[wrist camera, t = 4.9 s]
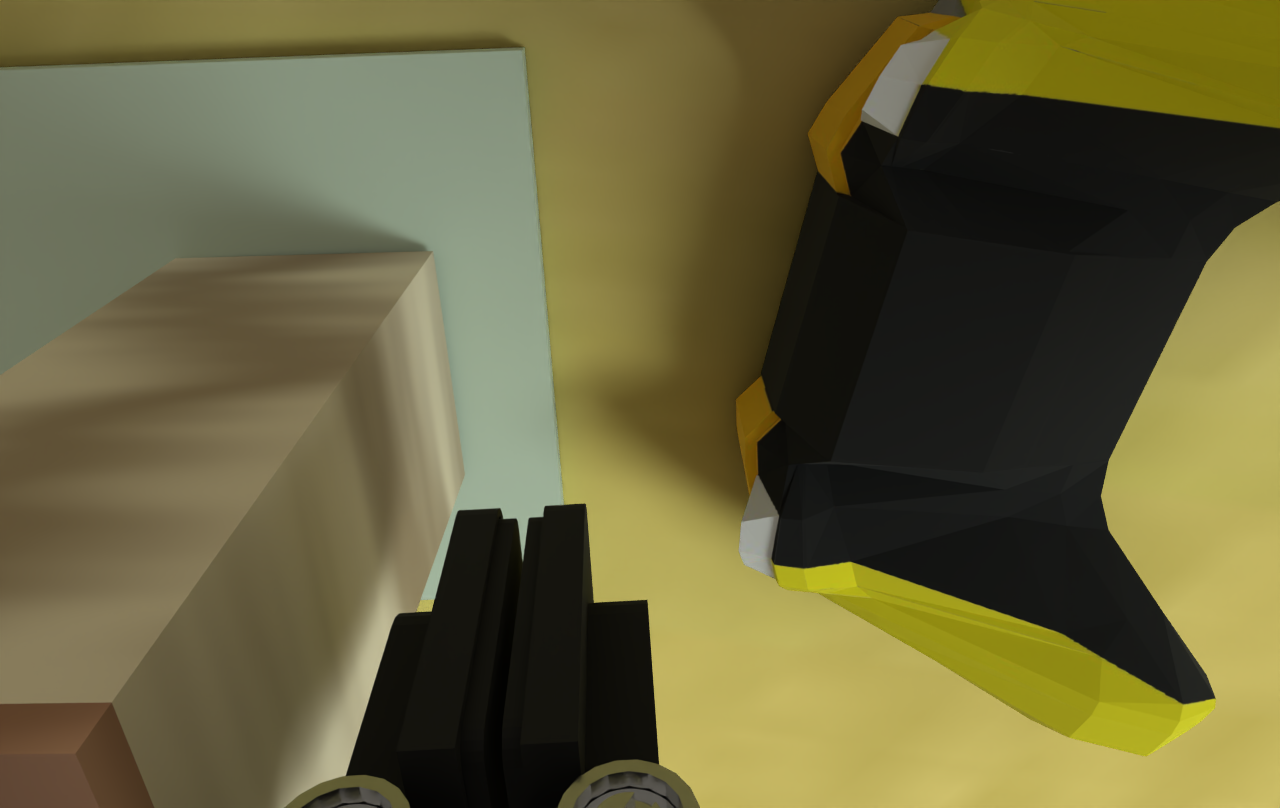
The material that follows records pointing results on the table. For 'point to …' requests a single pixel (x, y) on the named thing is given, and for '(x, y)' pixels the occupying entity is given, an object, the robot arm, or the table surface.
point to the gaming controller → (1005, 336)
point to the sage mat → (298, 211)
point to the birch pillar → (217, 527)
